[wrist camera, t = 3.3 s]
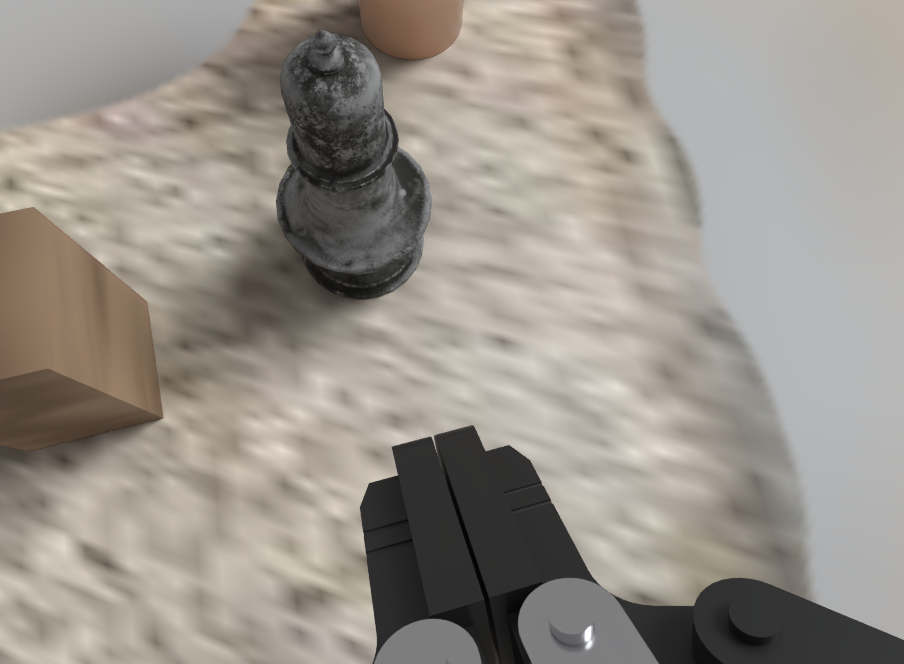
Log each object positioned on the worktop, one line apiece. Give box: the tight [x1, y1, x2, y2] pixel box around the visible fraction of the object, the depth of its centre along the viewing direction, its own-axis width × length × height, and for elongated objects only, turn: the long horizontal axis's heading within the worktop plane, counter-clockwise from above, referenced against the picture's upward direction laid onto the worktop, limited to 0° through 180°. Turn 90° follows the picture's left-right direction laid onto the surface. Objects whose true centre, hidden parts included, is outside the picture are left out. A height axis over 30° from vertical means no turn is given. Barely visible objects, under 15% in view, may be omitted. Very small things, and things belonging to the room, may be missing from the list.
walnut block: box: [0, 207, 163, 451], centre depth 21 cm, size 5×5×8 cm
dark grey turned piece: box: [276, 29, 432, 299], centre depth 21 cm, size 6×6×12 cm
